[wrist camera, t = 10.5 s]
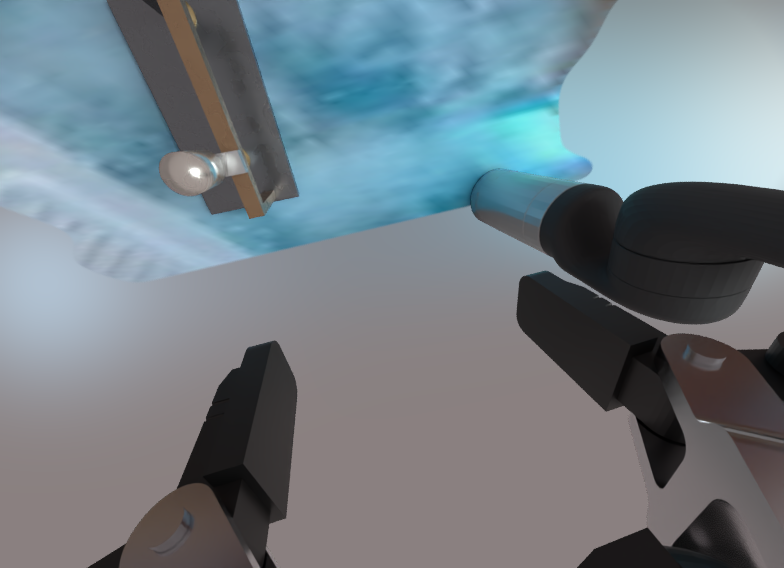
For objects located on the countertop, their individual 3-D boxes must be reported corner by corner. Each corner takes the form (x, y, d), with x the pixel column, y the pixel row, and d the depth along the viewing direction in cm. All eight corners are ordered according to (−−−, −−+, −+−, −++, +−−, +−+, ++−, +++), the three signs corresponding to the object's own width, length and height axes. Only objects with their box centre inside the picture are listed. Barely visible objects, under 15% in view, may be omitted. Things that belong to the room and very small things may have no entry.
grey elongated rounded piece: (257, 141, 35) (217, 144, 21) (266, 167, 37) (236, 187, 23) (218, 148, 35) (149, 156, 20) (229, 174, 36) (173, 199, 22)
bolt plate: (234, -11, 30) (191, -88, 20) (299, 194, 41) (293, 214, 31) (114, 2, 29) (-1, -74, 18) (215, 212, 40) (179, 238, 29)
